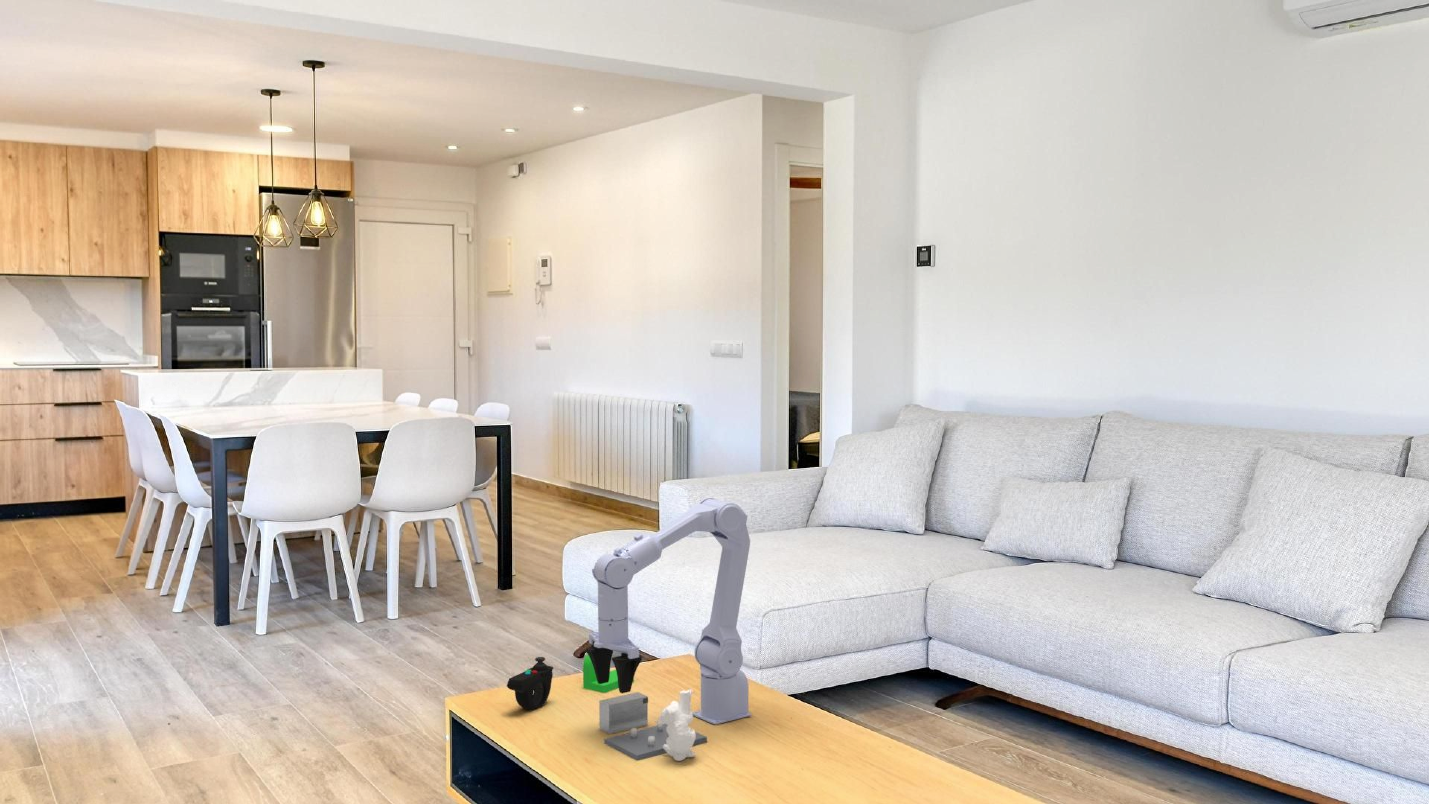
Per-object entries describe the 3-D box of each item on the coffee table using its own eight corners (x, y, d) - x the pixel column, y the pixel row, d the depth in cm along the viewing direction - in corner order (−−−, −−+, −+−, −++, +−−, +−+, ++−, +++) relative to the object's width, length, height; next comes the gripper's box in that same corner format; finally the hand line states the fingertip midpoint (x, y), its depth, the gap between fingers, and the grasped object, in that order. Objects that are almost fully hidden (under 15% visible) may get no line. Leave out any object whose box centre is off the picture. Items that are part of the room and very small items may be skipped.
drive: (637, 721, 233) (637, 691, 233) (648, 726, 230) (648, 696, 230) (599, 730, 228) (599, 700, 227) (609, 735, 225) (609, 705, 224)
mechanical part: (604, 695, 251) (604, 658, 250) (583, 690, 254) (583, 654, 254) (639, 681, 260) (639, 646, 260) (618, 677, 264) (618, 642, 264)
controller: (556, 703, 245) (556, 656, 244) (521, 720, 234) (521, 671, 233) (539, 700, 246) (539, 653, 246) (504, 717, 235) (503, 668, 235)
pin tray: (673, 726, 230) (672, 713, 229) (706, 742, 221) (706, 728, 221) (604, 744, 220) (604, 730, 220) (636, 760, 211) (636, 746, 211)
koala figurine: (680, 746, 218) (680, 683, 218) (708, 754, 214) (709, 690, 214) (651, 760, 212) (651, 695, 211) (680, 768, 208) (680, 702, 207)
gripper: (575, 613, 226) (576, 682, 227) (616, 628, 215) (617, 700, 216) (605, 608, 230) (606, 675, 231) (648, 622, 219) (648, 693, 220)
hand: (614, 687), depth 224 cm, fingers open, 7 cm apart
